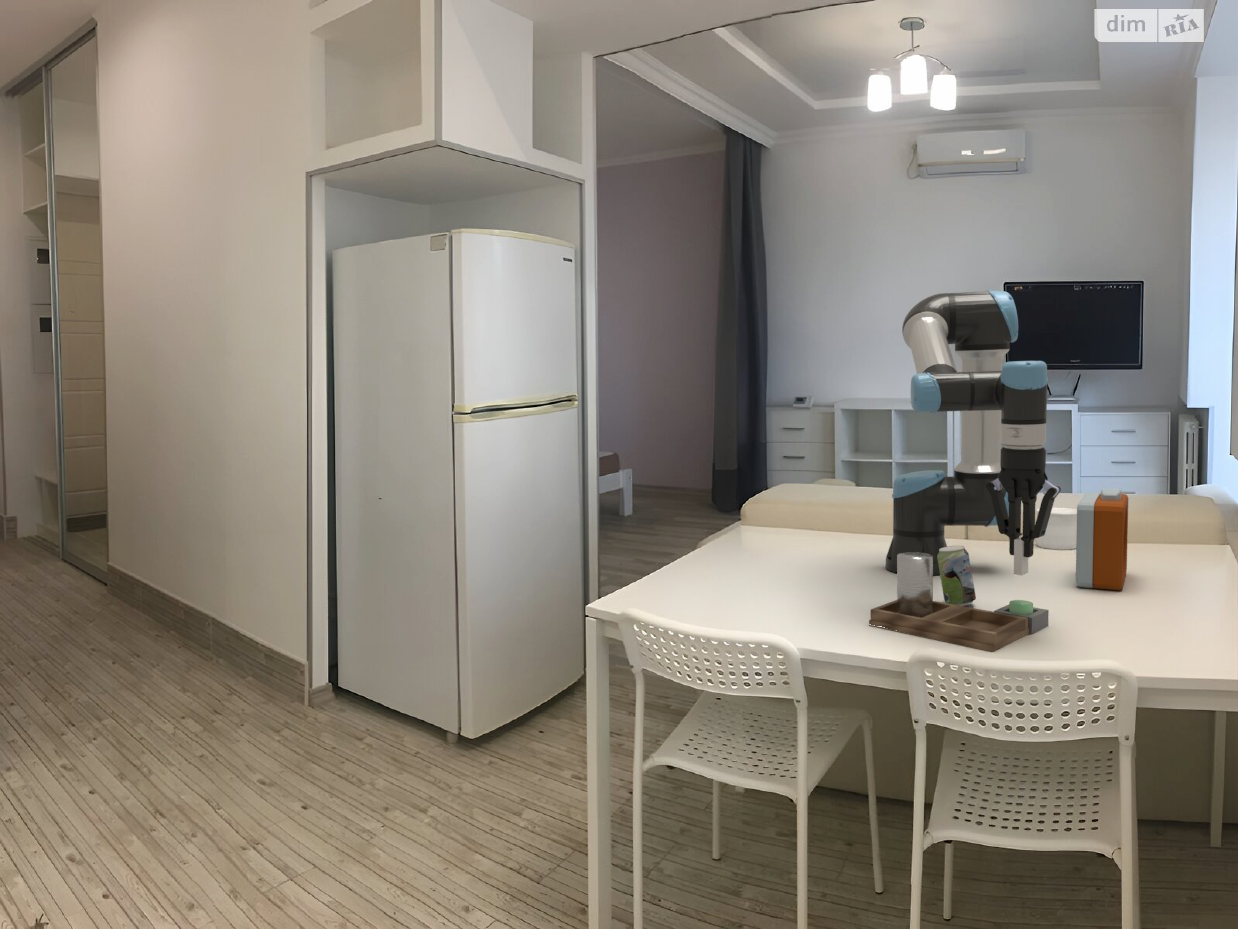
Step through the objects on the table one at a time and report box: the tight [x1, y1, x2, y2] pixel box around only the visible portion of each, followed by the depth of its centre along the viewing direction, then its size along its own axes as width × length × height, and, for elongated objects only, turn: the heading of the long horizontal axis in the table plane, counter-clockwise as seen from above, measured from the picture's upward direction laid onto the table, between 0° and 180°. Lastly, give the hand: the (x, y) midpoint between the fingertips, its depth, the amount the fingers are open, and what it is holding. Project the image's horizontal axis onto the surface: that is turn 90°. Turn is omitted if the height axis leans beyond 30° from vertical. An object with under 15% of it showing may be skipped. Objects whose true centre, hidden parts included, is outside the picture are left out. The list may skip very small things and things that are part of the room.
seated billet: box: [896, 552, 934, 618], centre depth 170 cm, size 6×6×12 cm
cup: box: [1035, 507, 1077, 551], centre depth 233 cm, size 10×10×10 cm
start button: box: [1008, 599, 1034, 615], centre depth 165 cm, size 4×4×4 cm
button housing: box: [993, 604, 1050, 635], centre depth 166 cm, size 7×7×3 cm
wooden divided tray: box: [868, 599, 1030, 653], centre depth 165 cm, size 24×14×3 cm, turn 42°
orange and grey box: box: [1075, 487, 1129, 592], centre depth 196 cm, size 18×9×21 cm, turn 148°
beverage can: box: [937, 545, 977, 607], centre depth 181 cm, size 6×7×12 cm
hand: (1020, 573), depth 165 cm, fingers closed
